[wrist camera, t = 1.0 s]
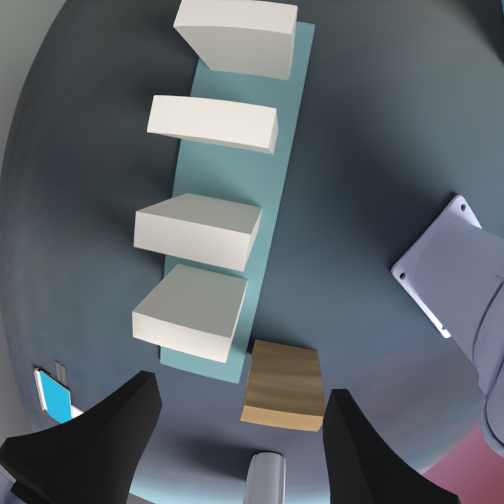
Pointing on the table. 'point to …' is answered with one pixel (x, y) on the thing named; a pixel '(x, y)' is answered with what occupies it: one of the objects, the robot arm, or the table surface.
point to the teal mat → (241, 185)
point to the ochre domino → (284, 387)
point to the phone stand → (55, 395)
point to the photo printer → (265, 479)
